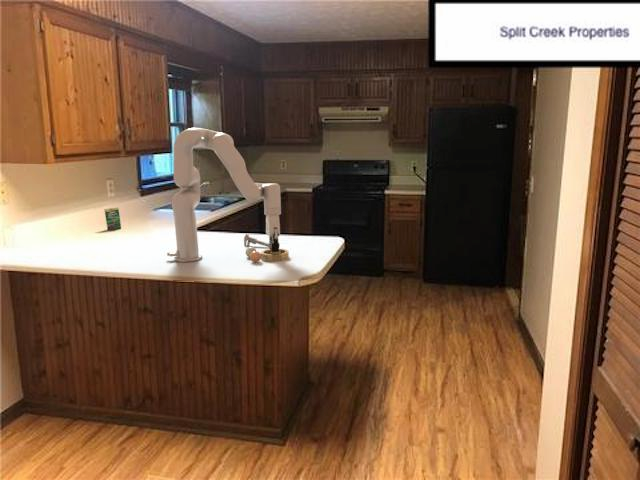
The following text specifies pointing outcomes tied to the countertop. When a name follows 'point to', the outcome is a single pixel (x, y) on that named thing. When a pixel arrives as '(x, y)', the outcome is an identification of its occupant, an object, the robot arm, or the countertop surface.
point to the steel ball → (271, 245)
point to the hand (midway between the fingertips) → (274, 249)
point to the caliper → (253, 241)
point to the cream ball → (250, 251)
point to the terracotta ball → (255, 256)
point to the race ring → (274, 255)
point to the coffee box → (112, 218)
